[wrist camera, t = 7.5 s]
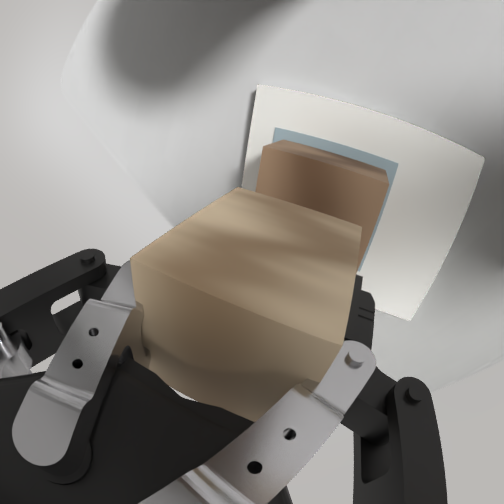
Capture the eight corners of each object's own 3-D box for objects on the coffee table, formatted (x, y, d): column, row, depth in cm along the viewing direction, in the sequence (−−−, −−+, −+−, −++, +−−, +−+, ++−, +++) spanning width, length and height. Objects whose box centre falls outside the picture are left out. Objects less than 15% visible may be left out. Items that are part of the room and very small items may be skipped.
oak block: (362, 226, 10) (342, 345, 5) (322, 323, 13) (281, 437, 8) (237, 186, 11) (129, 258, 6) (224, 285, 14) (148, 374, 9)
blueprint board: (480, 155, 14) (485, 158, 13) (409, 313, 21) (409, 322, 20) (262, 85, 18) (256, 84, 17) (236, 251, 25) (230, 257, 24)
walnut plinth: (385, 169, 16) (389, 184, 13) (354, 260, 20) (348, 290, 17) (283, 139, 18) (262, 146, 15) (266, 229, 22) (244, 253, 19)
